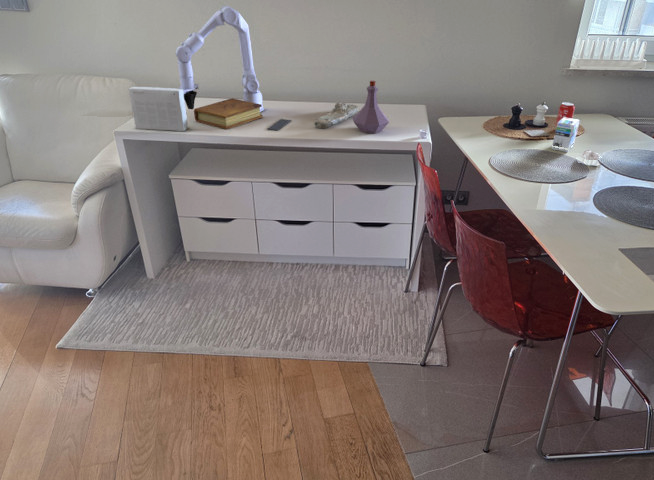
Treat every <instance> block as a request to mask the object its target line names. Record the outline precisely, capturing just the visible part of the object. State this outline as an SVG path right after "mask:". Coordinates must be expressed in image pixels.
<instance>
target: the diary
mask: <svg viewBox="0 0 654 480" xmlns="http://www.w3.org/2000/svg"><path fill="white" fill-rule="evenodd" d="M260 107H262V105H261V104H256V103H252V102H247V101H244V100H243V99H238V98H234V97H233V98H227V99H225V100H220V101H217V102H213V103H210V104H207V105H204V106H203V105H202V106H200V107H199V106H198V107H196V108H194V109H193V114H194V120H195V122H196V123H200V124H203V125H207V126H212V127H216V128H219V129H223V130H228V129H229V130H230V129H232V128H235V127H238V126H241V125H243V124H246V123H250V122H252V121H256V120H259V119H261V118H263V114H261V112H260Z"/></svg>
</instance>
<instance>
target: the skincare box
mask: <svg viewBox="0 0 654 480" xmlns="http://www.w3.org/2000/svg"><path fill="white" fill-rule="evenodd" d="M128 94H129V99H130V105H131V110H132V114H133V119H134V125H135V126H134V127H135V129H136V130H137V129H138V130H155V131H174V132H185V131H186V130H187V129H189V124H188V117H187V110H186V102H185V100H184V94H183V89H179V88H175V87H174V88H173V87H172V88H171V87H153V86H152V87H151V86H131V87H129V88H128Z"/></svg>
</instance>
